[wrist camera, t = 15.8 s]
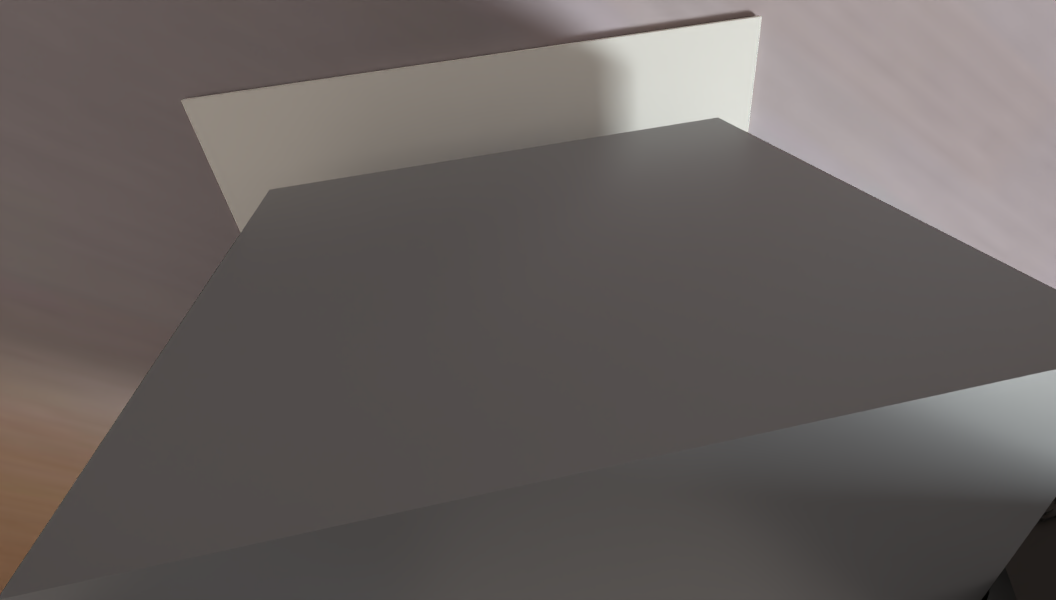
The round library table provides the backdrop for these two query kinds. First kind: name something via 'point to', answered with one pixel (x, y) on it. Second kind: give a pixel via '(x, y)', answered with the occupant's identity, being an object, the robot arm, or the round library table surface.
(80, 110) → the round library table surface
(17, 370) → the round library table surface
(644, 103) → the white flat square plate
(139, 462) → the block
